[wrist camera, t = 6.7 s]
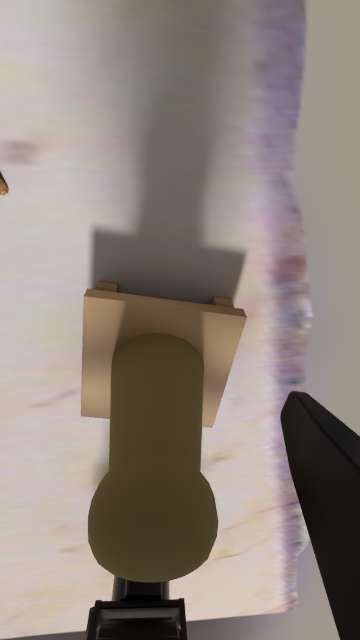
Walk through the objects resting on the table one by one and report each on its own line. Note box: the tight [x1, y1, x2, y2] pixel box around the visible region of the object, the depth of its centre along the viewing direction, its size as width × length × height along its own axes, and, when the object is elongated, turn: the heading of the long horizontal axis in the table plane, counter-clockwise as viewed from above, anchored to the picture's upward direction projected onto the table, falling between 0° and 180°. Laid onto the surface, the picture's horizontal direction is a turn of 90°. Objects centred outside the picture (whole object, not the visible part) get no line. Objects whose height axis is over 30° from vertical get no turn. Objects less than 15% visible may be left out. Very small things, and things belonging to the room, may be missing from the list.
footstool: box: [81, 281, 247, 427], centre depth 23 cm, size 10×10×3 cm
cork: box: [88, 333, 218, 582], centre depth 17 cm, size 6×6×11 cm
